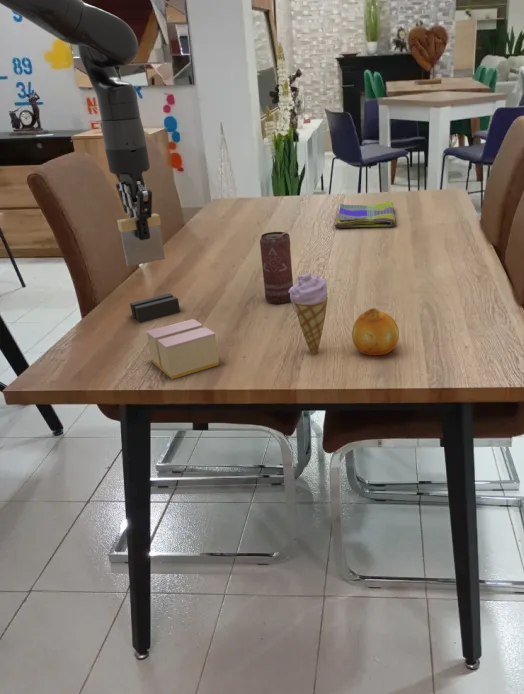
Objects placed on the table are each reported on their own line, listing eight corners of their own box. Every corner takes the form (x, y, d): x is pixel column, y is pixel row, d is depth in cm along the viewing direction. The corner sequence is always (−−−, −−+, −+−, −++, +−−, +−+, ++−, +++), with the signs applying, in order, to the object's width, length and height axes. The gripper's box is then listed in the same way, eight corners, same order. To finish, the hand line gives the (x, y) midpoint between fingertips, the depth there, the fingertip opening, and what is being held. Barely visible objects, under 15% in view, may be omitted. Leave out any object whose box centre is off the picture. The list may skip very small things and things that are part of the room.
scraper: (129, 267, 137) (120, 221, 133) (125, 265, 139) (116, 220, 134) (166, 259, 141) (159, 214, 136) (162, 257, 142) (155, 213, 138)
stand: (139, 322, 142) (137, 308, 140) (132, 316, 145) (129, 303, 143) (180, 311, 146) (178, 298, 144) (172, 306, 149) (170, 293, 147)
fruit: (345, 349, 118) (368, 309, 115) (342, 335, 125) (364, 296, 122) (386, 370, 120) (410, 331, 117) (382, 355, 127) (404, 317, 124)
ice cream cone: (293, 360, 121) (286, 277, 114) (293, 346, 126) (286, 266, 119) (331, 357, 121) (326, 274, 114) (329, 344, 127) (325, 263, 119)
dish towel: (395, 208, 217) (395, 199, 215) (395, 228, 196) (395, 218, 194) (339, 210, 218) (339, 201, 217) (333, 230, 198) (333, 220, 196)
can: (300, 299, 148) (295, 234, 141) (274, 306, 145) (268, 240, 138) (286, 292, 153) (281, 228, 146) (260, 299, 150) (254, 234, 143)
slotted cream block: (171, 379, 117) (166, 346, 114) (152, 362, 124) (146, 331, 121) (219, 364, 121) (215, 333, 118) (198, 349, 128) (193, 318, 125)
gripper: (94, 144, 132) (112, 234, 141) (118, 150, 122) (136, 248, 130) (131, 139, 135) (147, 228, 144) (158, 145, 125) (173, 241, 134)
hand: (141, 237), depth 137 cm, fingers closed on scraper, 2 cm apart
